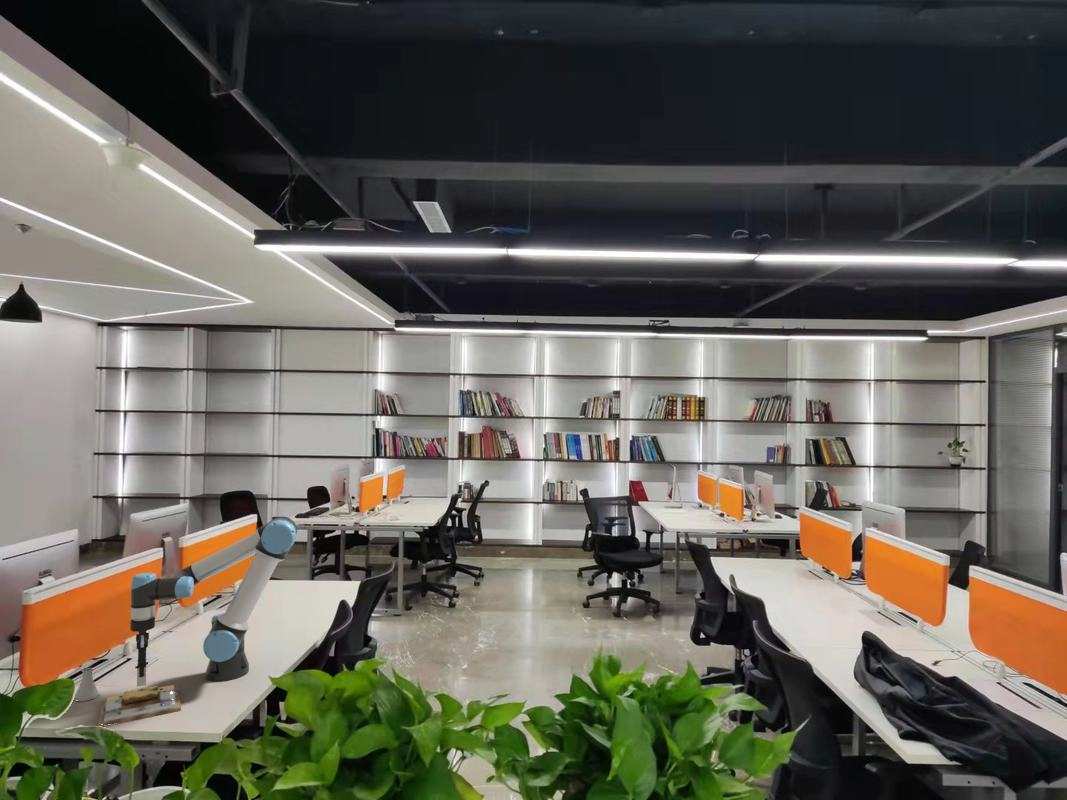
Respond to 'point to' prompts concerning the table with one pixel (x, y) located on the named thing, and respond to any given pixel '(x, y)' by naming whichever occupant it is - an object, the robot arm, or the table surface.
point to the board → (140, 704)
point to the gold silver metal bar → (140, 694)
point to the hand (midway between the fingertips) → (141, 685)
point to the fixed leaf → (115, 707)
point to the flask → (86, 687)
